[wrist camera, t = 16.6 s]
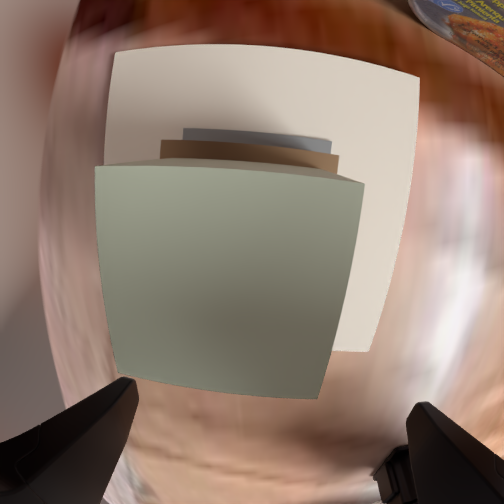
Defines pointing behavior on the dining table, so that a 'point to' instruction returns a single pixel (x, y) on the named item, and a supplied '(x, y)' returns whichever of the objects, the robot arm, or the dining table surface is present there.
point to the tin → (467, 26)
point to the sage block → (225, 271)
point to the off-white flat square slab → (284, 134)
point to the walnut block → (248, 153)
